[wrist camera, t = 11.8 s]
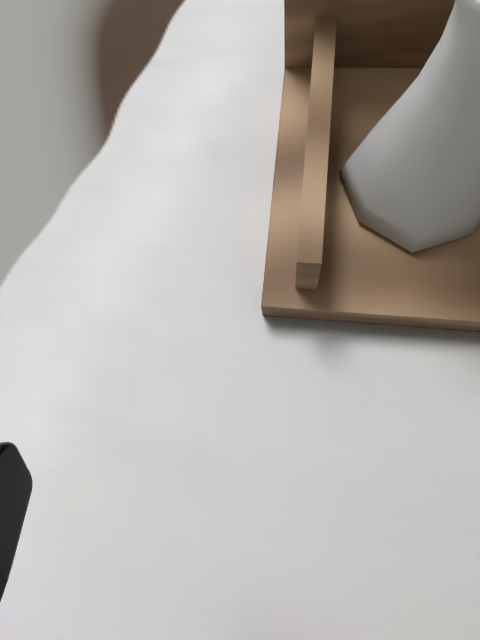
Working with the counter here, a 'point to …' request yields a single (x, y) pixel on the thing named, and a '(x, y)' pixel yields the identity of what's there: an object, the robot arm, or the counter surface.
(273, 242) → the spice stand
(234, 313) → the counter surface
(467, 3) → the flask
